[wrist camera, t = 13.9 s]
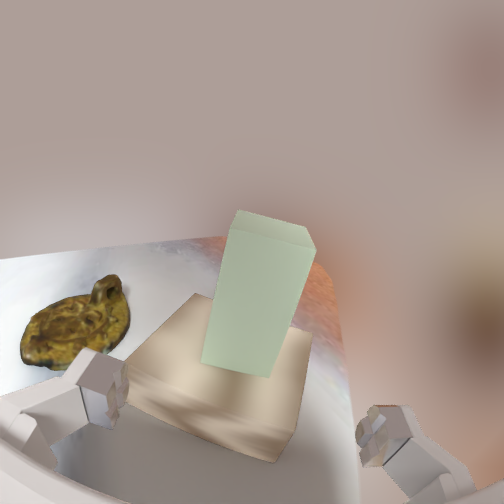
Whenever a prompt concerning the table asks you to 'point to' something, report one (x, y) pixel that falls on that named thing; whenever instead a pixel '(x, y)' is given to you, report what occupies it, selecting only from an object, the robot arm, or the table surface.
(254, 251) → the green block
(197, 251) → the table surface
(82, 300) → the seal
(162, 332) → the plinth
